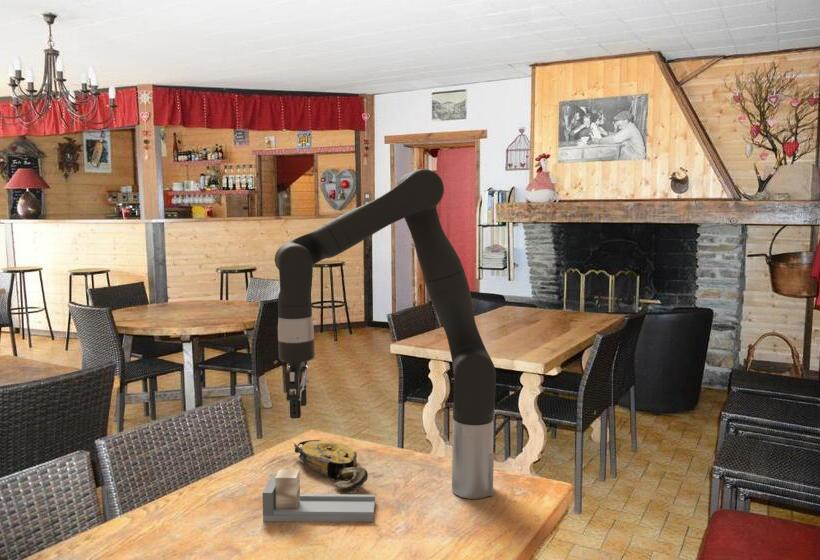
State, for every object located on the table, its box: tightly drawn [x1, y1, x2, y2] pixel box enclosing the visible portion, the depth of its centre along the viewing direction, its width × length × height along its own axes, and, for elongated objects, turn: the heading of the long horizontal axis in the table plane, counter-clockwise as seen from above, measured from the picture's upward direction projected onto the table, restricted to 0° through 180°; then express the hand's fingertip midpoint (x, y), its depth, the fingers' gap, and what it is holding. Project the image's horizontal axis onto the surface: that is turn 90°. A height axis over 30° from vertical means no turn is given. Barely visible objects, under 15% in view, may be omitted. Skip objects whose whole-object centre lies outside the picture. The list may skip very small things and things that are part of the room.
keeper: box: [275, 469, 301, 509], centre depth 146 cm, size 4×4×7 cm
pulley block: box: [293, 439, 370, 493], centre depth 168 cm, size 14×6×30 cm
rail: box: [262, 474, 376, 523], centre depth 146 cm, size 23×9×6 cm, turn 90°
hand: (298, 411), depth 146 cm, fingers open, 8 cm apart
